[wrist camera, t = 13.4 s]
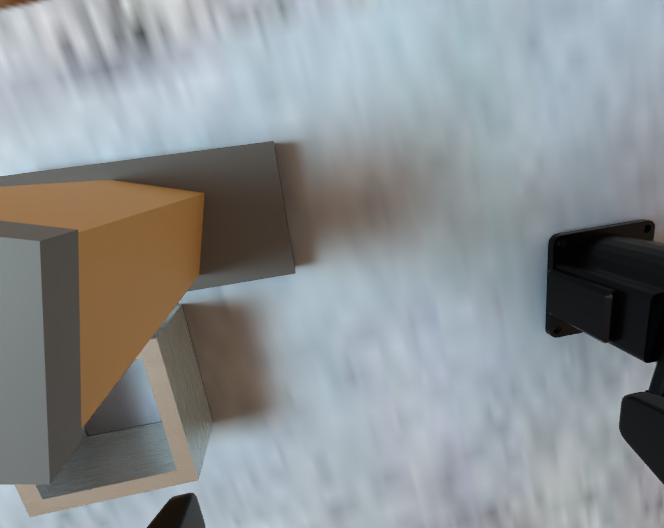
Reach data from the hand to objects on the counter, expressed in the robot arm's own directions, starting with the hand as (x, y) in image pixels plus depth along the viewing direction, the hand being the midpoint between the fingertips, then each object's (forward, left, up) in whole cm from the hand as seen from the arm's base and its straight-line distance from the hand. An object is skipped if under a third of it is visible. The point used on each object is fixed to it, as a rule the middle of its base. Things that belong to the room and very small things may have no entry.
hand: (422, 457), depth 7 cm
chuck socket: (+12, +4, -13) cm, 18 cm away
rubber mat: (+8, -4, -13) cm, 16 cm away
